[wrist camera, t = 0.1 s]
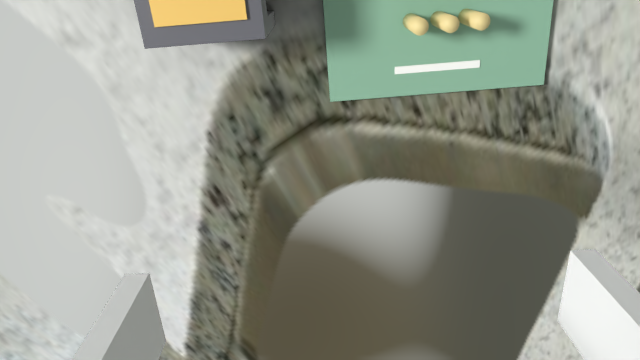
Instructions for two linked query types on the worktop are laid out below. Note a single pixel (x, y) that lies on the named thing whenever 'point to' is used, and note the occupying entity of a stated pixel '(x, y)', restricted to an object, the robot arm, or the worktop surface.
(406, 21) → the board
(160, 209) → the worktop surface
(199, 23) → the grey slotted block
